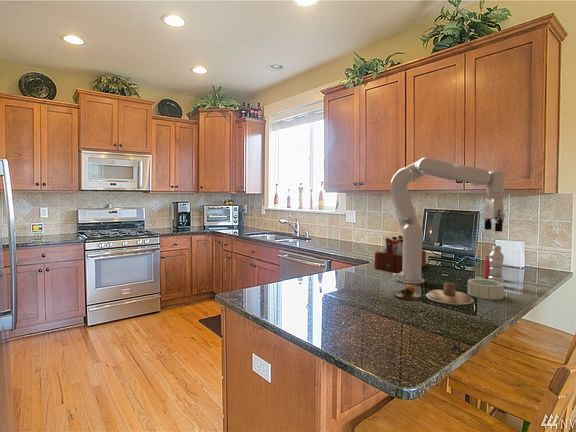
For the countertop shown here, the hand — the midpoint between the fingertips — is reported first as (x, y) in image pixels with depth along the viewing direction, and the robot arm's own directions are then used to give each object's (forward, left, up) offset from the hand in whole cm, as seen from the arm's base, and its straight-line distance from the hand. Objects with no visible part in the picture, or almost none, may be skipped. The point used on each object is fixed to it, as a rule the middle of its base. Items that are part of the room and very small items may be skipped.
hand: (493, 230), depth 171 cm
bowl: (-11, -18, -28) cm, 35 cm away
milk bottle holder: (-34, +43, -29) cm, 62 cm away
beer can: (+8, +16, -28) cm, 33 cm away
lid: (-29, -24, -28) cm, 47 cm away
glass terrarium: (-47, -24, -29) cm, 60 cm away
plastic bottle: (+3, +1, -28) cm, 28 cm away
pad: (-29, -24, -28) cm, 47 cm away
